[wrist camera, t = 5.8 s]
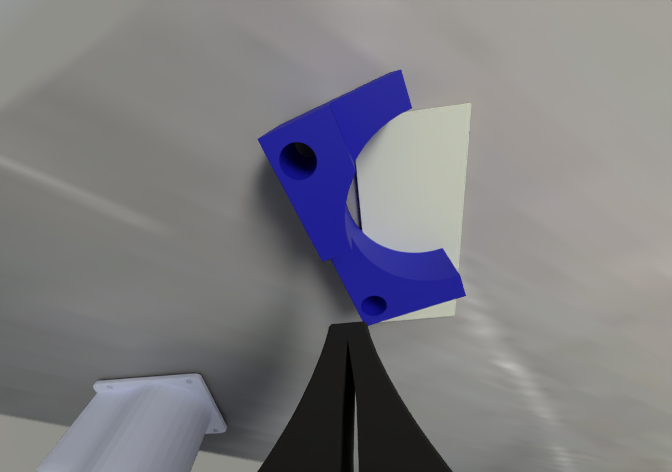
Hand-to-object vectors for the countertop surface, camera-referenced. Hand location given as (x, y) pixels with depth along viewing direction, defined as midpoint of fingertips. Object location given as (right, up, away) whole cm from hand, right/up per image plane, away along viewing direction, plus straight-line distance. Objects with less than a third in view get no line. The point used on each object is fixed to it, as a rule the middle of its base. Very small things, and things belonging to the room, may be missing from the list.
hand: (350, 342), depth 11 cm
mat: (+4, +4, +7) cm, 9 cm away
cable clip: (-1, +4, +5) cm, 6 cm away
